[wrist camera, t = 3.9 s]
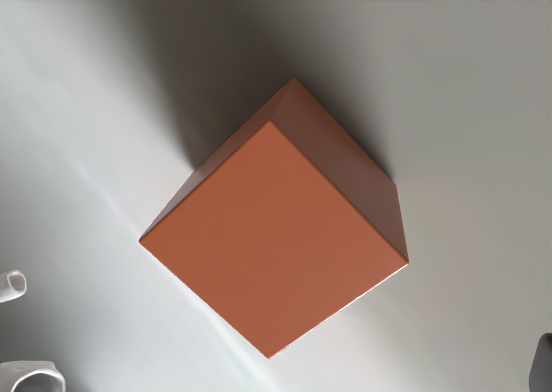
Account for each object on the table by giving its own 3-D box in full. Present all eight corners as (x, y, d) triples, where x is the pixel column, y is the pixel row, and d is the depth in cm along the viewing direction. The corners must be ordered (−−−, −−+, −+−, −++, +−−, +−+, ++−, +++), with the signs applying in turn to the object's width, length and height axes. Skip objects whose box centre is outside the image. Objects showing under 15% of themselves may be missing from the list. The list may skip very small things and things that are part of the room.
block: (397, 185, 14) (410, 264, 10) (290, 267, 15) (268, 360, 12) (294, 75, 13) (268, 117, 9) (192, 172, 14) (136, 241, 11)
